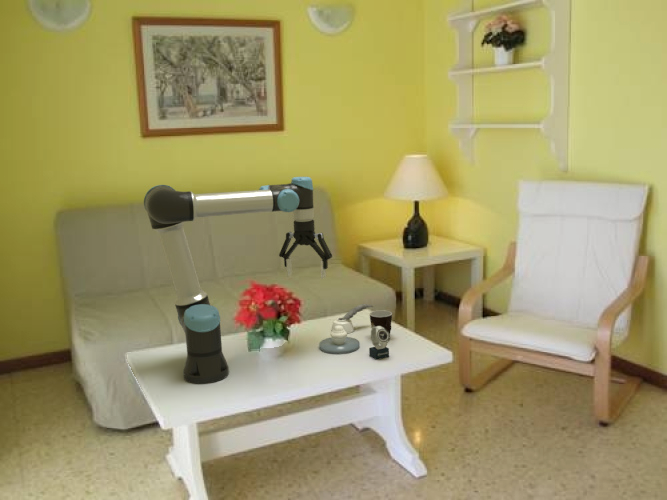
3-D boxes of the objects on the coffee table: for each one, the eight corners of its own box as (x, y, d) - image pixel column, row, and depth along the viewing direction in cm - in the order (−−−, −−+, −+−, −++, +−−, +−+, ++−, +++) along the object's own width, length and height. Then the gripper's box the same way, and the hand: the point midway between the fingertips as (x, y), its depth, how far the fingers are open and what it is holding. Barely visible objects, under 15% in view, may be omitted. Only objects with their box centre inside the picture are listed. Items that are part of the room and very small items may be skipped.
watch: (378, 361, 244) (378, 331, 241) (366, 354, 251) (366, 325, 248) (392, 358, 246) (391, 328, 244) (380, 351, 253) (379, 322, 251)
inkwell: (327, 329, 281) (326, 305, 278) (369, 322, 286) (368, 299, 284) (335, 335, 272) (334, 311, 270) (378, 329, 278) (377, 305, 276)
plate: (329, 356, 250) (329, 353, 249) (313, 344, 263) (313, 340, 263) (366, 349, 256) (366, 345, 255) (349, 337, 269) (348, 334, 269)
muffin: (349, 344, 257) (349, 326, 256) (333, 347, 255) (333, 328, 254) (344, 339, 263) (343, 321, 261) (328, 341, 261) (328, 323, 260)
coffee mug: (369, 335, 271) (369, 310, 269) (392, 334, 271) (391, 310, 269) (370, 345, 260) (369, 319, 258) (393, 344, 260) (393, 319, 257)
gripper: (339, 218, 252) (341, 275, 256) (277, 217, 260) (280, 272, 265) (332, 222, 245) (334, 280, 249) (268, 220, 254) (271, 277, 258)
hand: (306, 276), depth 257 cm, fingers open, 13 cm apart
